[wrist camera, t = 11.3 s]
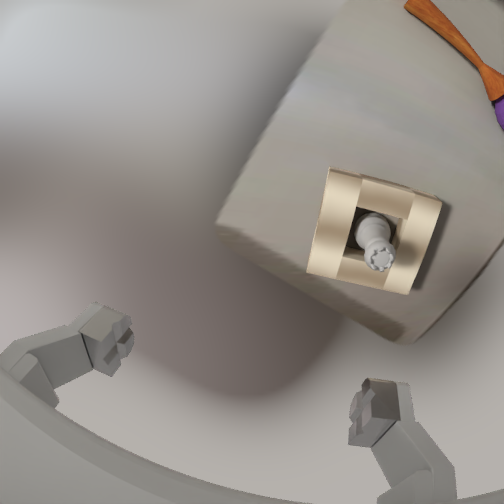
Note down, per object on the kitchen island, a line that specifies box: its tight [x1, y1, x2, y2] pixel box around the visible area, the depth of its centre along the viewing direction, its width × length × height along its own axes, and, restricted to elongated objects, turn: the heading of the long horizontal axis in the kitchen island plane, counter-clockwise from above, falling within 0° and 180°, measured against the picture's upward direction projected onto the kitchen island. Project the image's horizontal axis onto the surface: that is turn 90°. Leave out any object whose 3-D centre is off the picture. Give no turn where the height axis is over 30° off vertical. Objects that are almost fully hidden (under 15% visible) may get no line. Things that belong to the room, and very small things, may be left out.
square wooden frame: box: [307, 166, 442, 295], centre depth 32 cm, size 12×13×3 cm
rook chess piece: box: [353, 213, 396, 272], centre depth 30 cm, size 4×4×8 cm
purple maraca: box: [404, 0, 504, 130], centre depth 20 cm, size 6×6×20 cm
